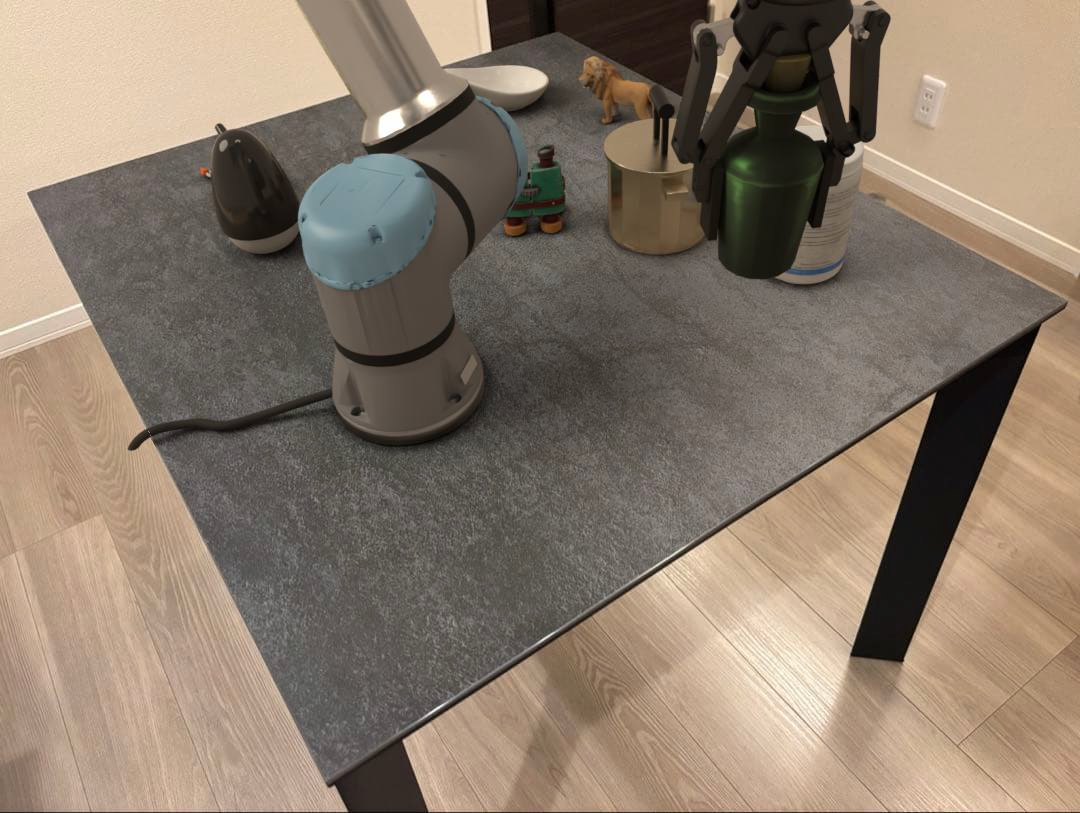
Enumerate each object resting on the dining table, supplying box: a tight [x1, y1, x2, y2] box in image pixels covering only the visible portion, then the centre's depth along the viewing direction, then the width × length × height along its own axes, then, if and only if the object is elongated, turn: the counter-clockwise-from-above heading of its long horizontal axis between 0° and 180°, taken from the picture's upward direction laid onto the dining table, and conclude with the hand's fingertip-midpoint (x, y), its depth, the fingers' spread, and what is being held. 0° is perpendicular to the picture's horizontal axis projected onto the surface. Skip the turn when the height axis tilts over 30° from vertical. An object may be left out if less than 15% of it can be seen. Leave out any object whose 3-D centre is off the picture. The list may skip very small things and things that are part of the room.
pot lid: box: [603, 84, 704, 177], centre depth 93 cm, size 13×13×7 cm
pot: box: [606, 159, 705, 256], centre depth 99 cm, size 12×17×10 cm
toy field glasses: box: [503, 144, 566, 237], centre depth 103 cm, size 9×11×10 cm
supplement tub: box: [773, 124, 865, 285], centre depth 90 cm, size 10×10×15 cm
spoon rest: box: [442, 64, 550, 112], centre depth 126 cm, size 24×12×7 cm, turn 114°
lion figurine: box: [578, 55, 654, 124], centre depth 119 cm, size 15×5×9 cm, turn 55°
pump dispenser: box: [210, 122, 301, 255], centre depth 101 cm, size 10×10×15 cm
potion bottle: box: [717, 53, 824, 280], centre depth 66 cm, size 8×8×18 cm
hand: (759, 225), depth 70 cm, fingers closed on potion bottle, 8 cm apart
